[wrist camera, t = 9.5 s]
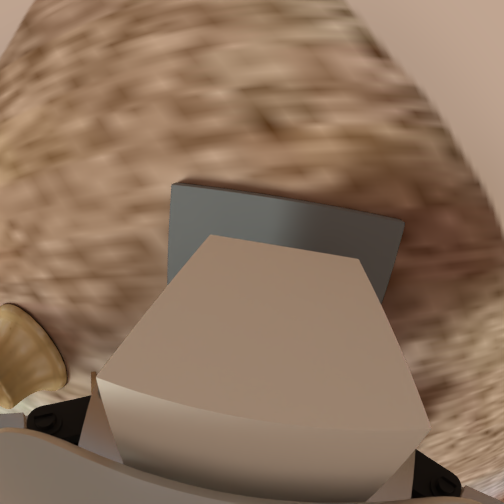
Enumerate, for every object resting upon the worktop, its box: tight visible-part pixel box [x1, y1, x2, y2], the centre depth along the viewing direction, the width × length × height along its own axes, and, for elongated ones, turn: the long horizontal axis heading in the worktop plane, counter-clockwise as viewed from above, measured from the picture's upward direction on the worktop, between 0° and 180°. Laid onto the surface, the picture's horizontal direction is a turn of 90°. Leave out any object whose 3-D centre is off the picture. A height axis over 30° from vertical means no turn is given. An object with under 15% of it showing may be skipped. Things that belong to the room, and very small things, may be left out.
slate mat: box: [167, 183, 405, 304], centre depth 14 cm, size 10×10×1 cm
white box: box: [96, 235, 431, 503], centre depth 8 cm, size 5×8×7 cm, turn 173°
